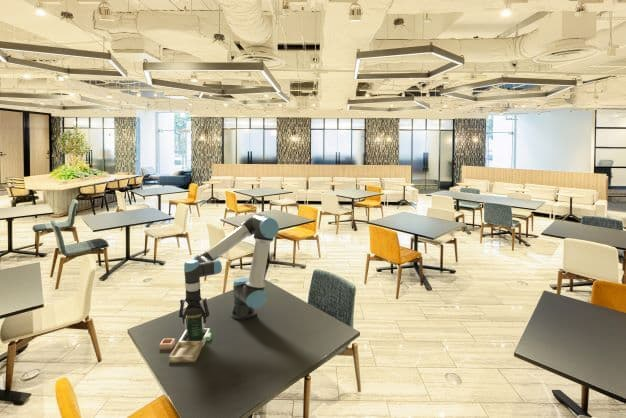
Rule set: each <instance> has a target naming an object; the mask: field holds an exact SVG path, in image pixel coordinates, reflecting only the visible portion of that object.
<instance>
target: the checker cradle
mask: <svg viewBox="0 0 626 418" xmlns="http://www.w3.org/2000/svg"><path fill="white" fill-rule="evenodd" d="M203 334H204V335H203V338H202V339H201V341H203V347H205V345H206V342H210V341H211V339H212V332H211V328H209V327H208V328H207V327H206V328H204V330H203ZM187 337H188V331H187V330H185V329H184V331H183V333H182V335H181V337H180V338H179V340H178V341H177V343H178V342H179V341H185V339H186V338H187Z"/></svg>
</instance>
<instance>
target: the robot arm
mask: <svg viewBox="0 0 626 418" xmlns="http://www.w3.org/2000/svg"><path fill="white" fill-rule="evenodd" d="M279 227H280V226H279V223H278V222H277V220H276V219H275V218H272V217H271V216H267V215H264V214H261V213H260V214H253V215H251V216H250V217H248V218H247V219H245V220H244V221H243V222H241V223H240V224H239V227H237V228H236V229H235V230H233V231H232V232H231V233H229V234H228V235H226V236H225V237H224V238H222V239H221V240H220V241H218V242H216V243H215V244H214V245H213V246H212V247H210V248H209V249H208V250H206V251H204V252H203V253H198V254H196V255H195V256H194V258H193V259H188V260H186V261H185V262H184V266H183V269H184V270H183V271H184V286H185V287H184V289H185V298H183V297H182V298H180V301H179V303H180V305H179V313H178V317H179V318H181V319H182V324H184V331H185V330H187V312H186V311H187V309H189V307H190V306H196V307H197V308H200V309H201V313H202V330H204V328H205V327H206V325H205V324H206V323H207V318H208V317H209V316H210V310H209V306H208V303H207V301H208V298H206V297H205V298H202V296H201V293H202V292H201V278H203V277H208V276H213V275H214V276H215V275H218V274H220V273H221V272H222V270H223V265H222V262H221V261H220V260H219V259H220V258H221V257H222V256H223V255H224V254H226V253H228V252H229V251H230V250H231V249H233V248H234V247H235V246H237V245H238V244H239V243H241V242H242V241H243V240H245V239H246V238H247V237H252V236H253V239H254V240H255V242H254V248H253V254H252V259H251V265H250V270H249V277H242V278H237V279H235V280H234V281H233V285H232V286H233V287H232V289H233V304H232V308H231V311H230V313H231V314H230V315H231V317H232V318H233V319H235V320H248V319H251V318H254V317H255V316H256V313H257V311H256V309H260V308H261V307H262V306H263V305H265V303H266V301H267V294H266V292H265V289H266V284H265V283H264V280H265V273H266V268H267V263H268V257H269V250H270V245H271V243H272V242H273V241H274V238H276V236H277V235H278V233H279V230H280V228H279ZM185 302H186V303H187V306H186V308H184V307H185ZM201 303H202V304H203V306H202V304H201ZM184 309H185V310H184Z"/></svg>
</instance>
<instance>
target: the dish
mask: <svg viewBox="0 0 626 418" xmlns="http://www.w3.org/2000/svg"><path fill="white" fill-rule="evenodd" d="M175 346H176V338H175V337H174V338H173V337H172V338H169V337H168V338H163V339H162V341H161V342H160V343H159V350H161V351H162V350H163V351H167V350H168V351H169V350H171V351H173V349H174V348H175Z"/></svg>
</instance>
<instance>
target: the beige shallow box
mask: <svg viewBox="0 0 626 418" xmlns="http://www.w3.org/2000/svg"><path fill="white" fill-rule="evenodd" d="M178 341H179V340H178ZM178 341H177V343H175V345H174V347H173V348H172V350H171V352H170V353H169V355H168V362H169V363H196V362H197V360H198V357H199V356H200V354H201V351H202V349H203V347H204V346H203V341H202V340H199V341H189V340H184V341H179V342H178Z"/></svg>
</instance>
